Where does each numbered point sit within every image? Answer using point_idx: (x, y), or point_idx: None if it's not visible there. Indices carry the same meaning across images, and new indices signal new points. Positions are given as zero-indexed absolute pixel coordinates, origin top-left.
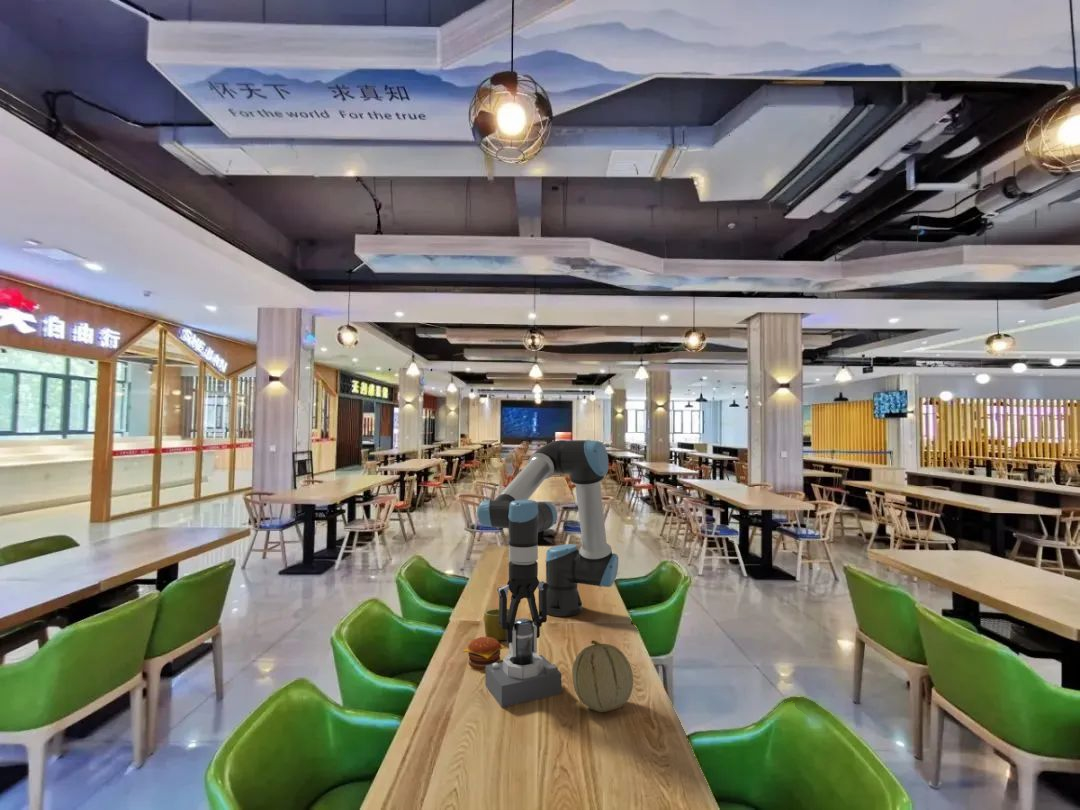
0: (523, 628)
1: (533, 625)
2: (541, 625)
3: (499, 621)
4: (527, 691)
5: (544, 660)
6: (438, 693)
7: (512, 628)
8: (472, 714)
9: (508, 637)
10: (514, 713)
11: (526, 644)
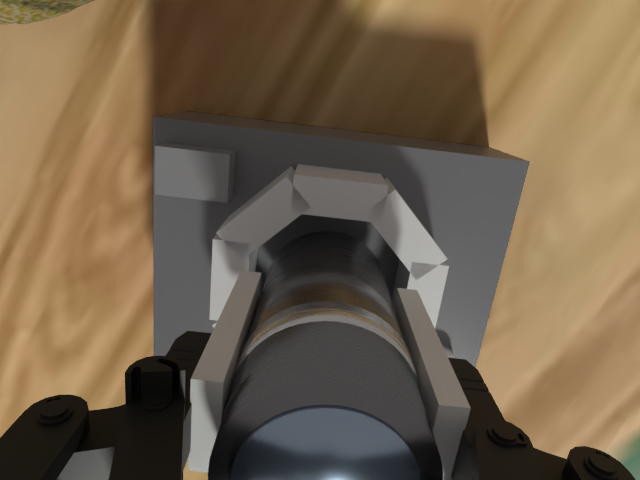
0: (378, 375)
1: (206, 423)
2: (137, 361)
3: None
4: (368, 136)
5: (169, 300)
6: (630, 376)
7: (482, 431)
8: (621, 162)
9: (482, 390)
10: (469, 69)
11: (338, 286)
